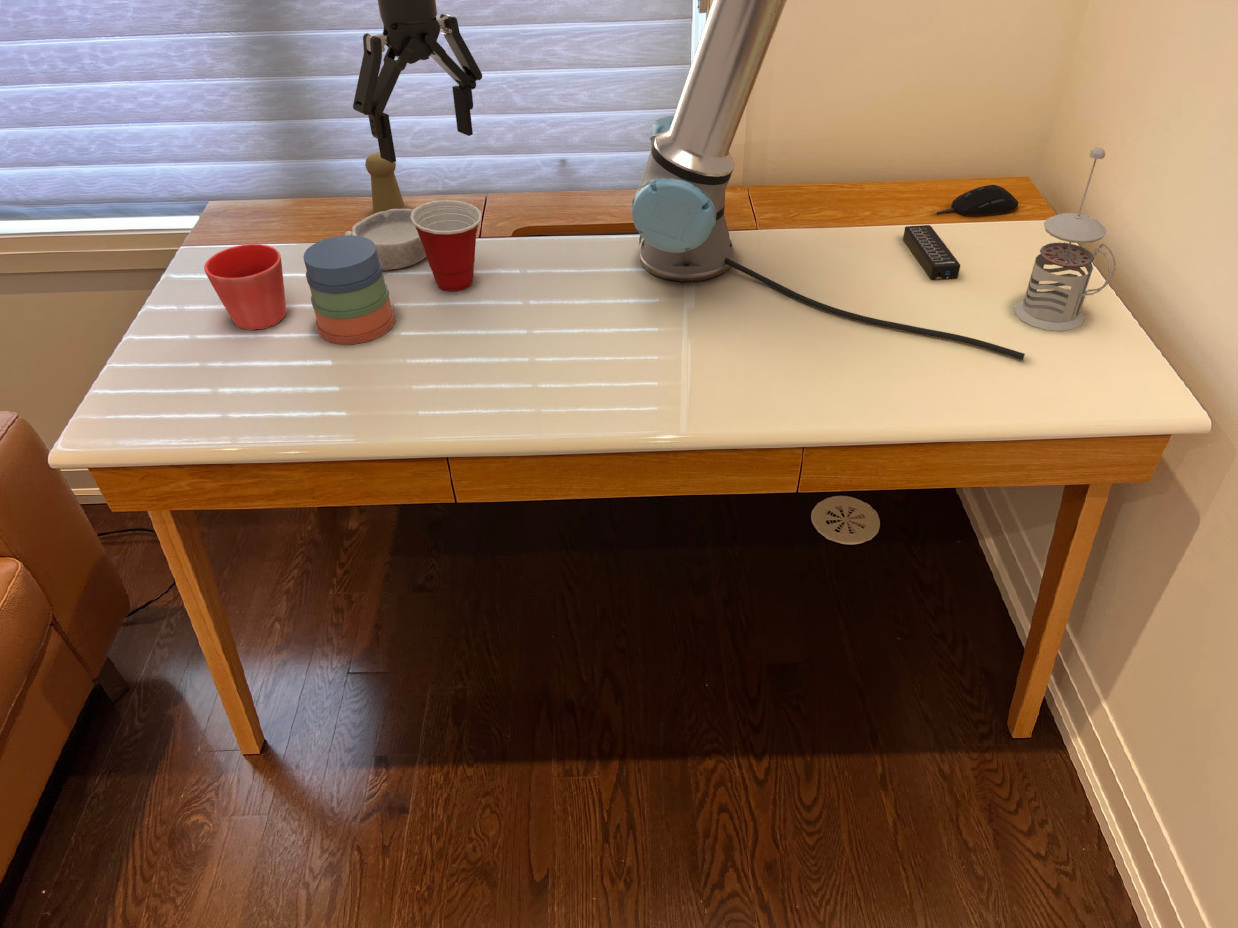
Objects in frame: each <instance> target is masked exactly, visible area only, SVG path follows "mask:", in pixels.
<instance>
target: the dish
mask: <svg viewBox="0 0 1238 928" xmlns="http://www.w3.org/2000/svg"><path fill="white" fill-rule="evenodd" d="M413 210H414V208H413V209H412V208H406V209H390V210H387V211H384V212H383V211H382V212H378V213H375V214H373V213H372V214H371V215H369V216H367V217H365V218H362V220H359V221H357V222H356V223H355V224H354V225H353V226H352V228H351V230H347V231H345V233H344V236H361V237H365V238H368V239H370V240H371V241H373V242H374V244H375V245H376V249H377V254H378V258H379V260H380V261H381V263H382V268H383V271H387V270H388V271H389V270H397V269H402V268H406V267H410V266H413V265H415V264H418V263H420V262H421V261H422V260H424V259H425V258H427V257H426V254H425V251H424V248H423V245H422V242H421V239H420V237H419V235H418V232H417V230H416V227H415V226H414V224H413V222H412V220H411V218H410V216H411V213H412V211H413Z"/></svg>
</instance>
